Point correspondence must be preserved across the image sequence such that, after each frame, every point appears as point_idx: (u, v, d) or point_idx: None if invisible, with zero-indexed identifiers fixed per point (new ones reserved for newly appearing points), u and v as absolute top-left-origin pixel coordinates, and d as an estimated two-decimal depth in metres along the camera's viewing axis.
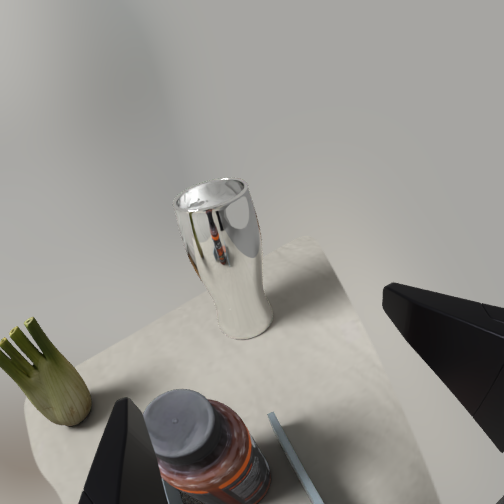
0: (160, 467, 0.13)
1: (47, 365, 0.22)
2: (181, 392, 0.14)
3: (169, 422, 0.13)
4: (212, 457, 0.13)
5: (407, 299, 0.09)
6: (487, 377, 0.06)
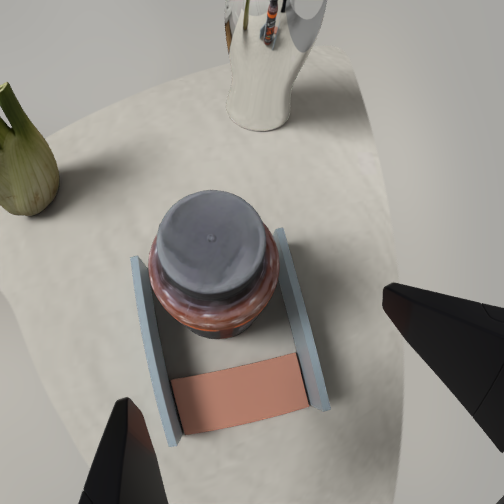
0: (168, 296, 0.12)
1: (14, 142, 0.16)
2: (222, 197, 0.12)
3: (202, 238, 0.11)
4: (244, 292, 0.12)
5: (407, 299, 0.09)
6: (487, 377, 0.06)
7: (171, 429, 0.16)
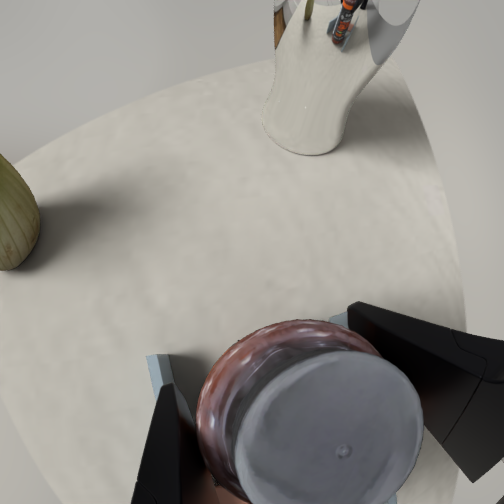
0: (240, 490, 0.06)
1: None
2: (360, 367, 0.05)
3: (327, 455, 0.05)
4: None
5: (370, 321, 0.08)
6: (455, 408, 0.06)
7: None
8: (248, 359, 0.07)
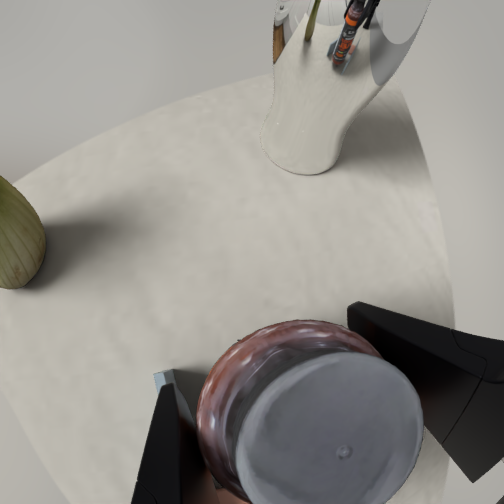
0: (241, 490, 0.06)
1: None
2: (361, 368, 0.05)
3: (327, 456, 0.05)
4: None
5: (370, 321, 0.08)
6: (455, 409, 0.06)
7: None
8: (249, 360, 0.07)
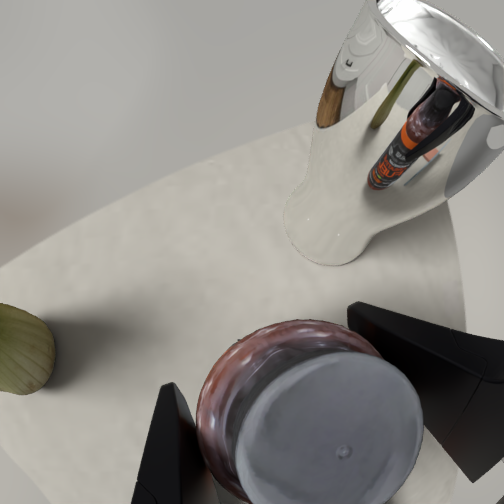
0: (241, 489, 0.06)
1: None
2: (360, 368, 0.05)
3: (327, 456, 0.05)
4: None
5: (370, 321, 0.08)
6: (455, 409, 0.06)
7: None
8: (249, 359, 0.07)
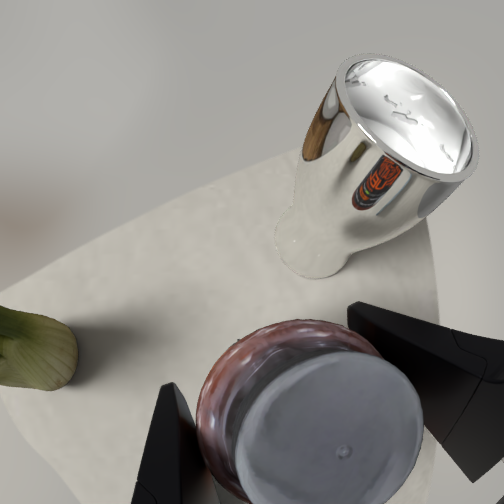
0: (241, 489, 0.06)
1: (15, 346, 0.12)
2: (361, 368, 0.05)
3: (327, 456, 0.05)
4: None
5: (370, 321, 0.08)
6: (455, 409, 0.06)
7: None
8: (249, 359, 0.07)
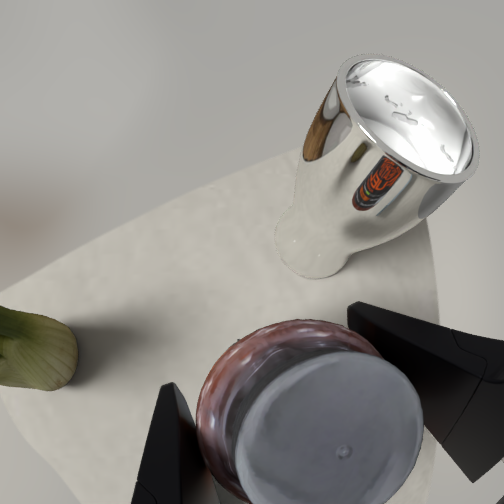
0: (241, 489, 0.06)
1: (16, 346, 0.12)
2: (361, 368, 0.05)
3: (327, 456, 0.05)
4: None
5: (370, 321, 0.08)
6: (455, 409, 0.06)
7: None
8: (249, 359, 0.07)
